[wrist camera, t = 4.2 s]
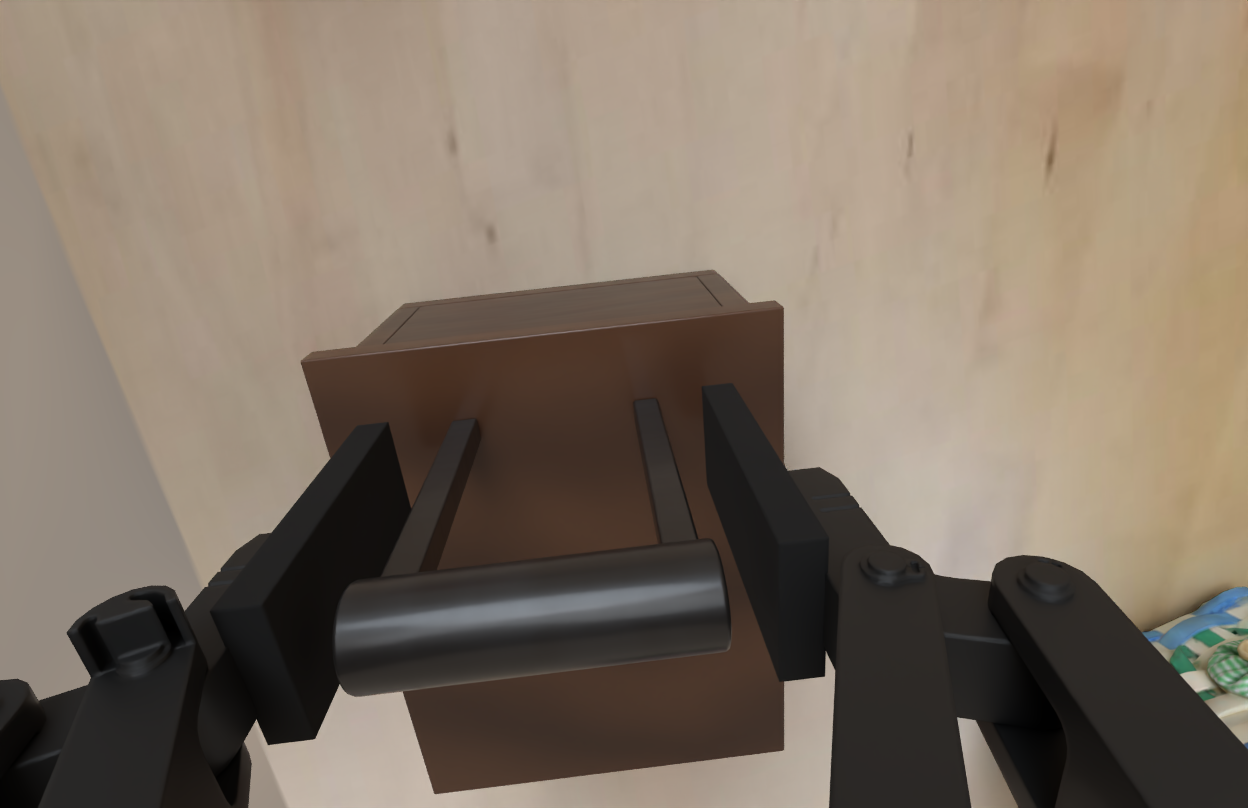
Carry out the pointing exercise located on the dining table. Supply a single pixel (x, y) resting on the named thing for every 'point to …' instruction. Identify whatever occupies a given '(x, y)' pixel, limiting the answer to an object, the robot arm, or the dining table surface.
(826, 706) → the dining table surface
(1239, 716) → the basket
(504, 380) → the lid
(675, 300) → the chest
